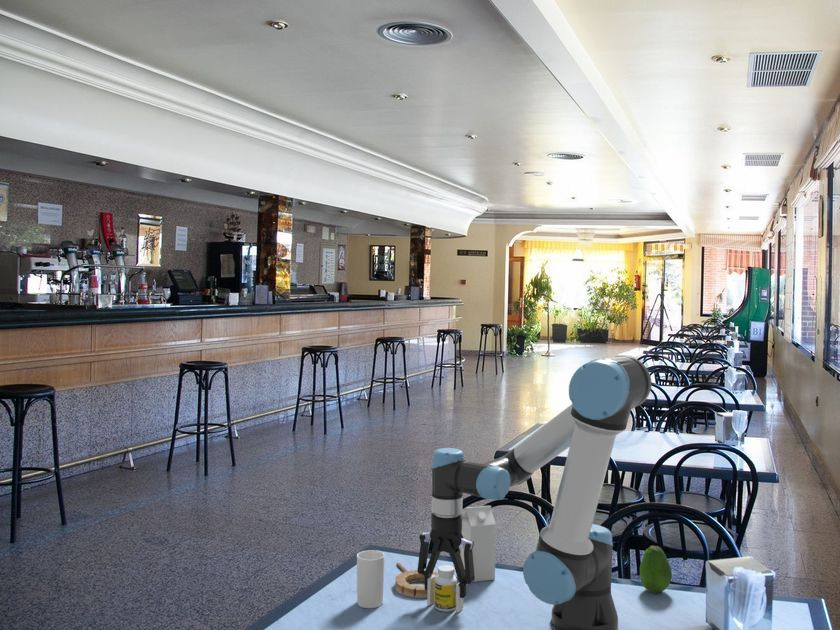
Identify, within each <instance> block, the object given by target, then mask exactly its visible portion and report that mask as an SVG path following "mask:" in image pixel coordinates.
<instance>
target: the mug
mask: <svg viewBox="0 0 840 630" xmlns="http://www.w3.org/2000/svg"><path fill="white" fill-rule="evenodd" d="M384 577H385V553H384V552H383V551H381V550H374V549H372V550H369V549H368V550H363V551H360V552H358V553H357V554H356V595H357V596H356V600H357V601H356V603H357V605H358V606H359V607H361V608H365V609H376V608H380V607H381V606H382V605H383V602H384V587H385V585H384V584H385V583H384V582H385V580H384Z"/></svg>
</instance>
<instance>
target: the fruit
mask: <svg viewBox="0 0 840 630" xmlns="http://www.w3.org/2000/svg"><path fill="white" fill-rule="evenodd" d="M671 567H672V566H671V564H670V562H669V560H668V557H667V556H666V553H665V552H664V550H663V549H662V547H660V546H657V545H650V546H649V547H648V548H646V549H645V551H644V554H643V557H642V559H641V561H640V566H639V578H640V581H641V585H642V586H643V587H644V589H645V590H647V591H648V592H650V593H653V594H656V593H657V594H658V593H661V592H664V591H665V590H666V589H667V588H669V586H670V584H671V581H672V578H673V577H672V576H673V574H672V568H671Z"/></svg>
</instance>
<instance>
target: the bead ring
mask: <svg viewBox="0 0 840 630" xmlns="http://www.w3.org/2000/svg"><path fill="white" fill-rule="evenodd" d="M433 572H434V573H433V574H432V575H435V578H436V576H438V571H437V572H436V571H433ZM413 582H425V577H424V575H422V574H419V573H418V572H417V569H414V570H413V569H411V570H407V572H403V571H402V572H400V574H398V575H396V576H395V583H394V584H395V586H394V588H395V591H396V592H398V593H399V594H401V595H403V596H407V597H411V598H417V599H418V598H422V599H423V598H426V599H427V590H425V588H424V586H425V585H416V584H412V583H413ZM410 583H411V584H410Z"/></svg>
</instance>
